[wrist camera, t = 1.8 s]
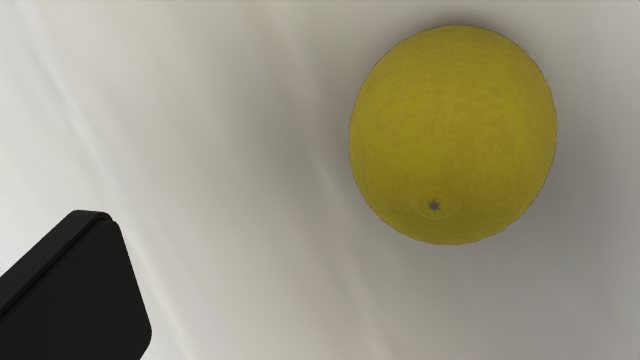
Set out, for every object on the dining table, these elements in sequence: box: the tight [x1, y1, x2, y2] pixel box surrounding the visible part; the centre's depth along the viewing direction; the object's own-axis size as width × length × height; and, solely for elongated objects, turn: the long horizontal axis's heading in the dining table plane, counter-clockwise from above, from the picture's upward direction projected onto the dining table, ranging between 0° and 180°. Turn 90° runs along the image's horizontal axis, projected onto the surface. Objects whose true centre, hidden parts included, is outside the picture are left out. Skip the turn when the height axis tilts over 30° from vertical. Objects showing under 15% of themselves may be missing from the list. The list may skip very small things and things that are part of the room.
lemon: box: [349, 25, 557, 245], centre depth 16 cm, size 6×6×8 cm
